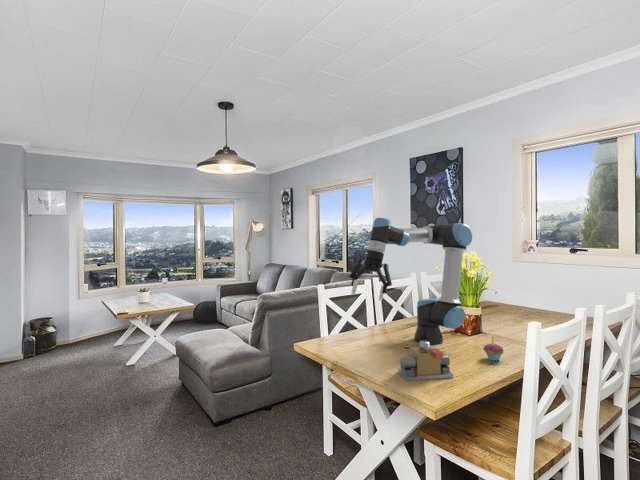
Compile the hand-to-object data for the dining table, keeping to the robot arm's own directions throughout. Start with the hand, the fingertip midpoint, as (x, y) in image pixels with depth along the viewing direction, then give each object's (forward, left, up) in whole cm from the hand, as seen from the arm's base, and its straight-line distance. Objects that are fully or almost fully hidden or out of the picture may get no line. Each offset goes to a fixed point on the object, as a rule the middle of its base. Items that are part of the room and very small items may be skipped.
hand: (366, 297), depth 163 cm
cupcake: (-60, +3, -31) cm, 68 cm away
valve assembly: (-21, +15, -31) cm, 40 cm away
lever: (-21, +20, -20) cm, 35 cm away
